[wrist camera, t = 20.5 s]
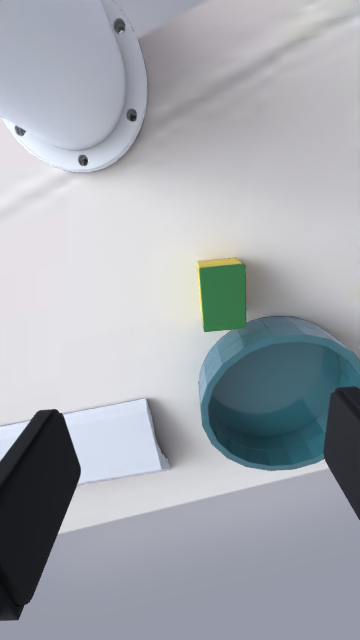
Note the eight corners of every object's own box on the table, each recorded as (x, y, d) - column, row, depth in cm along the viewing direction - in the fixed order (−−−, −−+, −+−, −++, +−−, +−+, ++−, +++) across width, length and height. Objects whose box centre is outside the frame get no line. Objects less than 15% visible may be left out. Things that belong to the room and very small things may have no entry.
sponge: (196, 261, 27) (199, 269, 23) (235, 257, 27) (245, 265, 23) (201, 315, 29) (204, 332, 25) (237, 312, 29) (246, 328, 25)
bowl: (193, 323, 30) (194, 343, 25) (353, 308, 29) (386, 326, 24) (203, 441, 36) (206, 475, 31) (335, 432, 35) (358, 465, 31)
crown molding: (146, 398, 33) (142, 418, 30) (171, 466, 38) (170, 490, 34) (-55, 438, 36) (-78, 461, 33) (-10, 497, 41) (-27, 522, 37)
